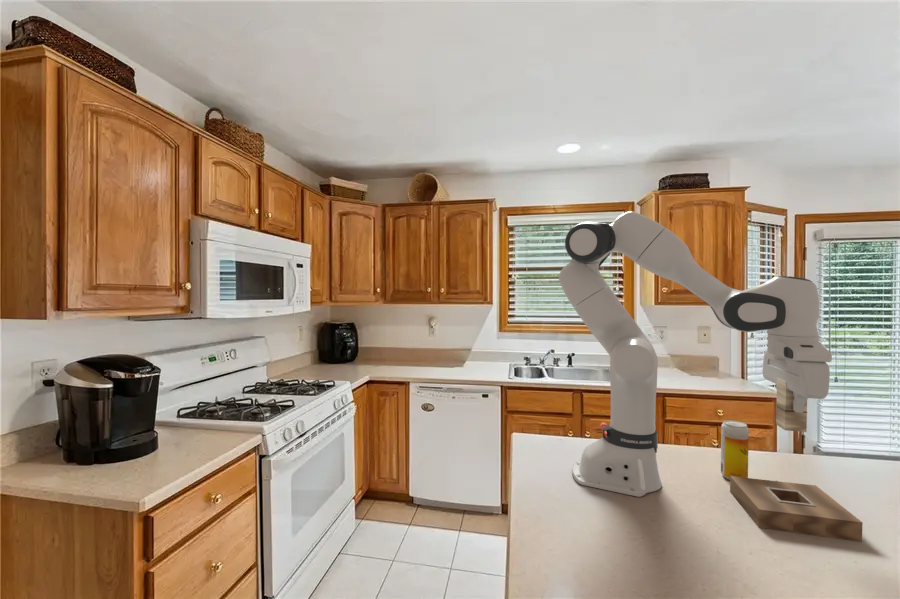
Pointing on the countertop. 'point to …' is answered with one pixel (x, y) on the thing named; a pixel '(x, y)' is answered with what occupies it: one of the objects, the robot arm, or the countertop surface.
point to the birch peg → (789, 410)
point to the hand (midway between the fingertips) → (790, 408)
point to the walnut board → (794, 508)
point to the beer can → (734, 449)
